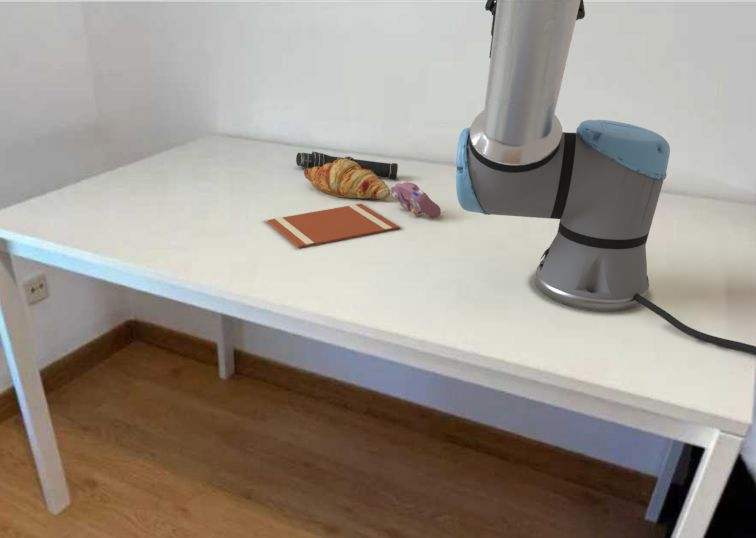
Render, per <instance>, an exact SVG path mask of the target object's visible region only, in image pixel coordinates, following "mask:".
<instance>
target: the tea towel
mask: <svg viewBox="0 0 756 538" xmlns="http://www.w3.org/2000/svg"><path fill="white" fill-rule="evenodd" d="M267 224H269V225H270V226H271V227H273V228H274V229H275V230H276V231H278V232H279V233H280V234H281V235H282V236H283V237H285V238H286V239H287V240H288V241H289V242H290V243H292V244H293V245H294V246H295V247H296V248H298V249H301V248H308V247H312V246H318V245H323V244H329V243H333V242H338V241H344V240H348V239H354V238H360V237H364V236H365V237H366V236H369V235H373V234H379V233H385V232H386V233H387V232H389V231H390V232H391V231H396V230H399V229H400V226H398V225H397V224H395V223H394V222H392V221H390V220H389V219H387V218H386V217H384V216H382V215H381V214H379V213H377V212H376V211H374V210H372V209H371V208H369V207H367V206H366V205H364V204H362V203H358V204H355V203H354V204H348V205H347V206H339V207H335V208H334V207H333V208H328V209H323V210H317V211H312V212H311V211H310V212H307V213H301V214H294V215H290V216H284V217H282V216H280V217H275V218H272V219H267Z"/></svg>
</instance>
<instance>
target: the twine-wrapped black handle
mask: <svg viewBox="0 0 756 538" xmlns="http://www.w3.org/2000/svg"><path fill="white" fill-rule="evenodd" d="M338 158H342V159H349V160H351V161H354V162H356V163H358V164H359V165H360V166H361V168H362V169H367V170H372V171H373V172H374V174H376V176H377V177H378V178H385V179H390V180H396V179H397V177H398V171H399V164H398V163H397V162H392V163H391V162H389V163H388V162H382V161H381V162H380V161H373V160H365V159H357V158H354V157H352V156H344V157H340V156H332V155H329V154H326V153H324V152H323V153H321V152H318V151H314V150H312V152H311V153H309V152H297V154H296V157H295V163H296V166H297V167H303V168H305V169H307V168H308V169H312V168H313V167H322V166H323V165H325V164H326V163H333V162H334V161H335V160H337V159H338Z"/></svg>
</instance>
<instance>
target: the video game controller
mask: <svg viewBox="0 0 756 538" xmlns="http://www.w3.org/2000/svg"><path fill="white" fill-rule="evenodd" d="M390 192H391V195H392V198H393V199H394V200H396V201H398V202H399V204H400V205H401V206H402V208H403V209H404V210H405V211H406V212H408V211H411V213H412V214H413V215H414V216H416V217H418V216H420V215H421V214H422V213H423V214H424V215H425V216H427V217H429V218H433V219H436V218H439V217H440V215H441V211H442V210H441V207H440V206H439V204H437V203H436V202H434V201H433V200H432V199H431V198H430V197H429V195H428V194H427V193H425V192H424V190H423V189H420V187H419V186H418V185H417V184H416V183H414V182H408V181H407V182H405V181H404V180H402V181H401V182H398V183H396V184H395V185H393V186H392V187H391V188H390Z"/></svg>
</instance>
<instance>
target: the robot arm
mask: <svg viewBox="0 0 756 538" xmlns="http://www.w3.org/2000/svg"><path fill="white" fill-rule="evenodd" d="M584 5H585V3H584V0H486V3H485V6H484V9H485V11H489V12H490V13H491V16H492V21H491V22H492V23H491V30H490V36H491V40H490V49H489V57H488V58H489V59H490V60H489V67H488V69H489V70H488V76H487V85H486V92H485V102H484V109H483V110H482V111H481V112H479V113H478V114H477V115H476V117H475V118H474V119H473V121H472V123H471V125H470V127H466V128H463V129H462V130H461V132H460V134H459V137H458V141H457V148H456V161H455V163H456V173H455V187H456V197H457V201H458V204H459V206H460V208H462V209H463V210H464V211H466V212H470V213H476V214H477V213H478V214H483V215H484V216H485V215H486V216H487V215H488V216H491V215H495V216H510V217H521V218H523V217H524V218H539V219H550V220H551V219H554V220H559V224H558V228H557V231H556V232H557V233H556V234H555V237H554V238H553V240H552V241H551V243H550V245H549V246H548V247H547V248H546V250H545V251H544V252H543V254H542V255H541V257H540V259H539V261H540V262H539V264H538V266H537V267H536V271H535V277H534V285H535V287H536V289H537V290H538V291H539V292H540V293H542V294H543V295H544V296H546V297H547V298H549V299H551V300H553V301H555V302H557V303H560V304H562V305H566V306H569V307H571V308H576V309H580V310H587V311H595V312H620V311H626V310H631V309H634V308H637V307H639V306H641V305H642V306H643V307H645V308H647V309H648V310H649V311H651V312H653V313H654V314H656V315H658V316H659V317H661V319H664V320H665V321H667V323H669V324H670V325H671V326H673V327H674V328H676V329H677V330H679V331H681V332H682V333H684V334H686V335H688V336H690V337H693V338H695V339H698V340H700V341H703V342H706V343H710V344H713V345H717V346H722V347H725V348H730V349H734V350H739V351H743V352H747V353H751V354H752V355H753V354H754V355H756V345H752V344H748V343H745V342H742V341H741V342H740V341H736V340H732V339H726V338H722V337H718V336H715V335H711V334H708V333H705V332H702V331H699V330H697V329H695V328H692V327H690V326H688V325H687V324H684V323H683V322H682V321H680V320H679V319H677V318H676V317H674V315H672V314H671V313H669V312H667V310H665V309H663V308H662V307H660V306H659V305H657V304H655V303H654V302H651V301H650V300H649V299H647V295H648V292H649V288H650V280H649V276H648V264H647V247H646V246H647V241H648V237H649V234H650V231H651V227H652V223H653V220H654V218H655V217H654V216H655V213H656V209H657V205H658V203H659V198H660V195H661V191H662V188H663V184H664V180H666V179H667V175H668V174H667V170H668V164H669V160H670V159H669V158H670V154H671V148H670V143H669V142H668V141H667V139H666V138H665V137H663V136H662V135H661V134H659V133H657V132H655V131H653V130H650V129H647V128H645V127H642V126H638V125H634V124H631V123H626V122H621V121H614V120H607V119H586V120H583V121H581V122H580V123H579V125H578V126H576V127H577V128H576V132H567V131H563V126H562V123H561V121H560V119H559V117H558V116H557V115H556V114H555V113H556V109H557V105H558V101H559V95H560V91H561V87H562V84H563V83H562V82H563V78H564V74H565V69H566V65H567V61H568V56H569V52H570V48H571V43H572V39H573V35H574V30H575V27H576V26H575V25H576V22H577V21H579V20H583V19H584V18H585V16H586V10H585V6H584Z"/></svg>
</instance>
